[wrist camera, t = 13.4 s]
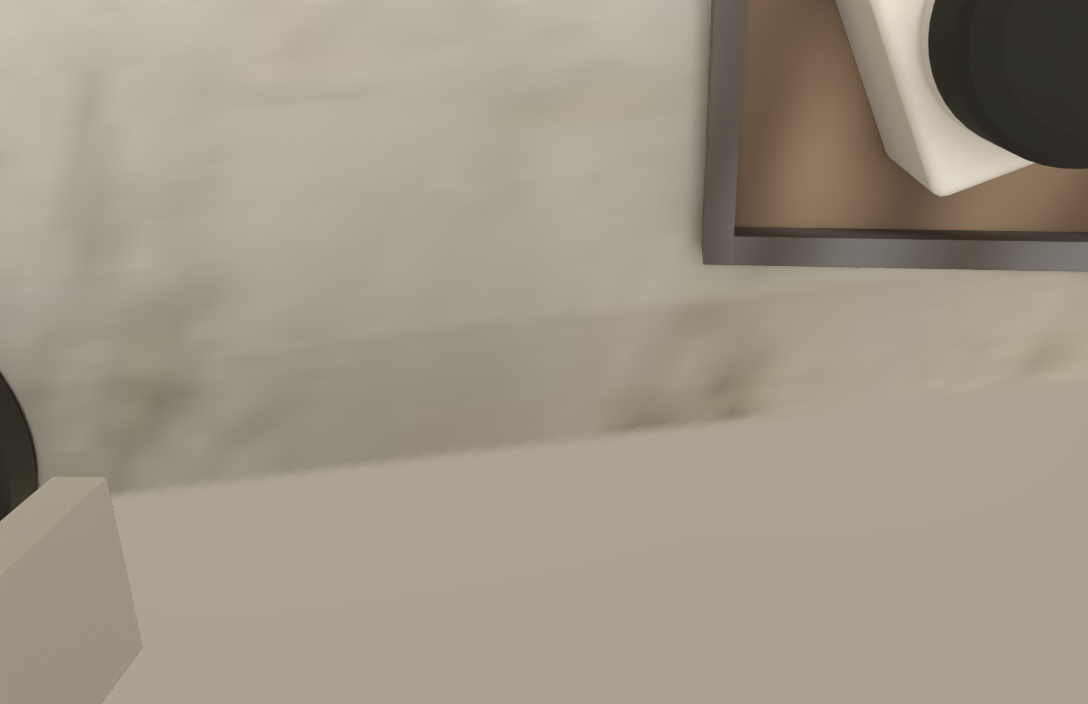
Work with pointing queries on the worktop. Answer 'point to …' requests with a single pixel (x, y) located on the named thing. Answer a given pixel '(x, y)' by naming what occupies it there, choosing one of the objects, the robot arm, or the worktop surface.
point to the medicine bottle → (974, 84)
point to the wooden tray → (850, 166)
